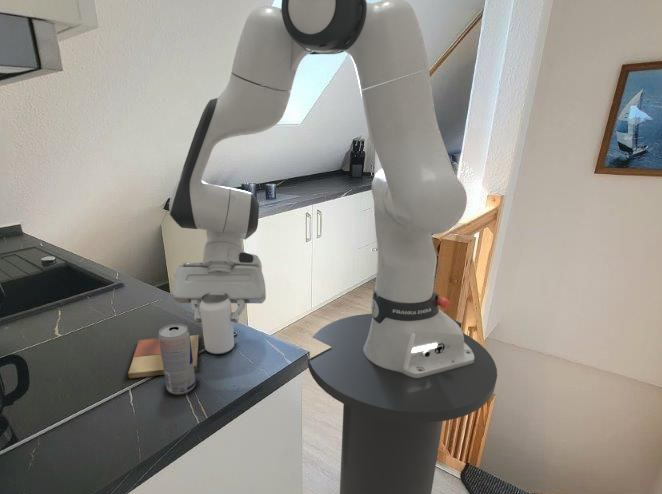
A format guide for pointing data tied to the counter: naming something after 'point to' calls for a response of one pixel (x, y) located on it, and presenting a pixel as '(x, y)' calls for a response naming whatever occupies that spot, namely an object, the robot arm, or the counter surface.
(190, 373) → the energy drink
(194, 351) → the square wooden board
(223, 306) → the can
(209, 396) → the counter surface
